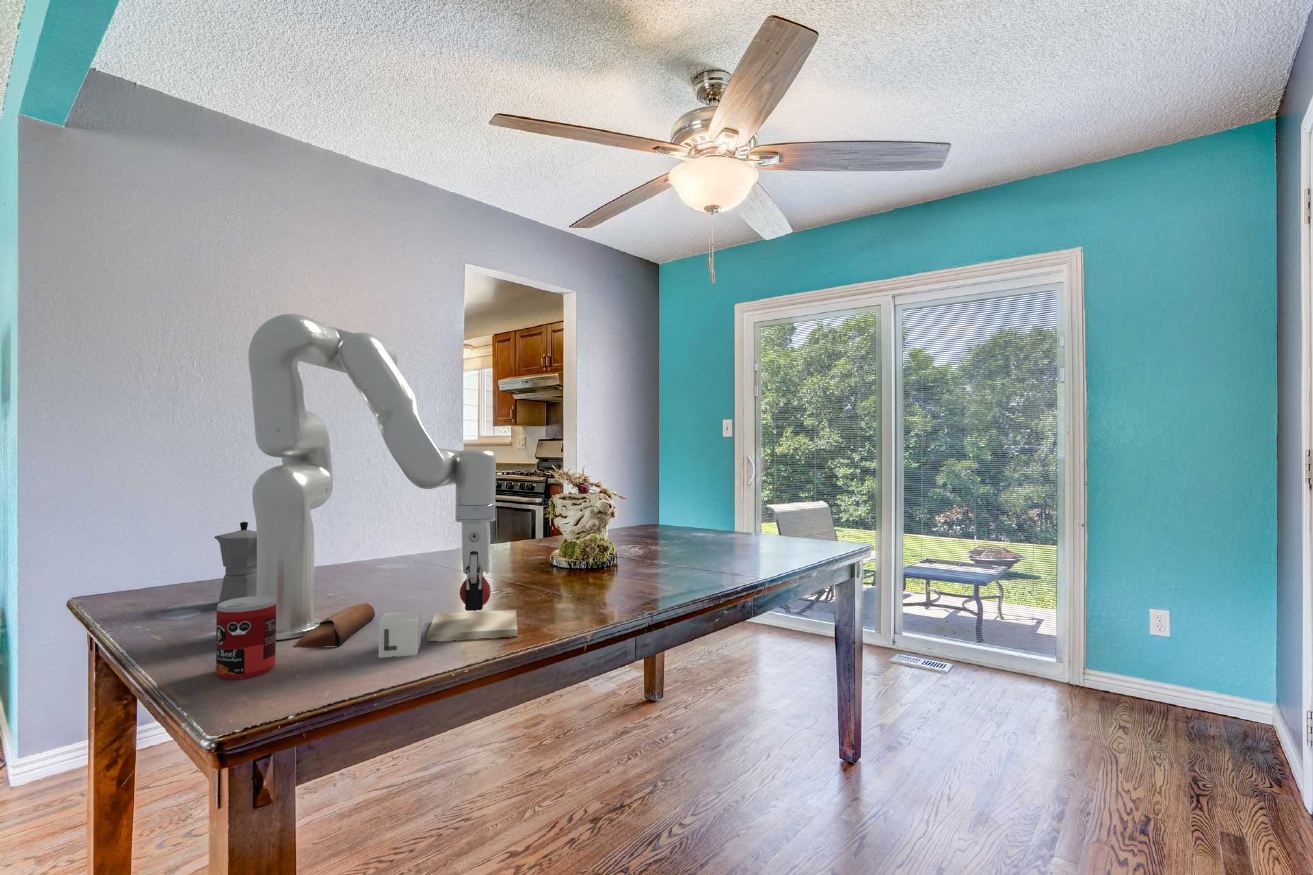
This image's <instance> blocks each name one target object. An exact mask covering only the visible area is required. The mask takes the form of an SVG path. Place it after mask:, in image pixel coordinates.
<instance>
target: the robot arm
mask: <svg viewBox="0 0 1313 875" xmlns="http://www.w3.org/2000/svg"><path fill="white" fill-rule="evenodd" d="M247 358H248V369H249V375H250V383H251V399H252V412H253V422H254V433H255V434H254V436H255V441H256V444H257V447H258V449H259V450H260V451H261V452H262V453H263V454H264V455H267V456H268V457H273V458H278V459H279V458H281V465H277V466H273V467H270V468H268V469H266V470H265V471H263V472H262V474H261V473H260V475H259V476H258V478H257V479H256V480H255V483H254V484H253V488H252V497H251V498H252V500H251V501H252V506H253V511H254V516H255V527H256V531H257V592H256V596H268V597H273V598H275V599H276V641H279V640H288V639H289V640H290V639H294V638H301V637H304V636H305V635H306V634H307V633H309V632H310V631H311V630H313V629H314V628H316V627H317V626H319V624H320V622H321V621H323V620H322V619H321V618H318V617H315V616H314V607H315V606H314V602H315V601H314V600H315V599H314V598H315V595H314V594H315V589H314V588H315V530H314V523H313V519H312V515H311V511H312V510H314V509H317V508H319V507H321V506H323V505H324V504H325V503H327V501H328V500H329V499H330V497H331V495H332V492H333V487H334V475H333V464H332V463H333V462H332V453H331V443H330V435H329V430H328V428H327V426H326V425H327V424H325V422H324V421H323V419H322V418H320V416H319V415H318V414H316V413H314V412H312V411H309V410H306V407H305V399H304V385H303V381H302V377H301V375H300V372H299V369H298V363H299V362H303V363H306V364H309V365H312V366H313V365H314V366H318V367H322V368H325V369H329V370H333V371H337V372H341V373H344V374H346V375H347V376H348V377H349V379H350V380H351V382H352V384H353V385H354V387H355V388H356V390H357V392H358V393H359V394H360V396H361V397H362V399H363V400H364V402H365V403H366V406H368V408H369V410H370V411H371V413H372V414H373V416H374V418H375V420H376V424H377V428H378V429H379V431H380V434H381V437H382V438H383V442H384V444H385V445H386V448H387V450H389V453H390V454H391V456H392V458H393V459H394V461H395V462H396V463H397V464H398V467H399V468H400V469H401V471H402V473H403V474H404V476H405V477H406V478H407V479H408V480H409V481H410V482H411V483H412V484H413V485H414V486H416V487H417V488H420V489H424V490H432V489H436V488H440V487H441V488H442V487H445V486H452V485H455V515H454V516H455V522H457V523H461V558H462V559H461V561H462V571H463V572H462V573H463V574H464V575H466V579H467V585H466V589H465V604H464V605H465V606H464V609H465V612H475V611H474V610H477V611H483V609H484V605H483V588H482V576H483V577H484V573H485V575H486V574H487V575H488V574H489V573H490V570H491V523H490V522H495V521H496V499H497V498H496V489H497V488H496V483H497V482H496V480H497V478H496V476H497V474H496V473H497V459H496V455H495V452H494V451H492V450H488V449H463V450H455V449H450V448H449V449H447V448H440V447H439V448H437V446H436V445H435V443H434V442H433V440H432V439H431V437H430V435H429V434H428V432H427V431H426V429H425V427H424V425H423V424H422V422H421V420H420V416H419V413H418V398H417V395H416V393H415V392H414V390H413V389H412V387H411V386H410V384H409V382H408V381H407V379H406V378H405V376H404V375H403V373H402V372H401V370H400V369H399V367H398V356H397V353H396V350H395V349H394V347H393V346H392V345H391V344H390V343H389V342H388V341H386V340H384V339H383V338H380V337H378V336H376V335H373V334H371V333H369V332H355V333H354V332H351V331H347V330H343V329H341V328H338V327H334V326H330V325H329V324H328V325H327V324H324V323H322V322H321V321H318V320H317V319H316V320H315V319H313V318H311V317H309V316H305V315H303V314H298V313H284V314H280V315H276V316H274V317H272V318H269V319H268V320H266V321H265V322H264V323H262V324H261V325H260V326H259V327H258V329H257V330H256V331H255V332H254V334H253V336H252V338H251V340H250V343H249V348H248V357H247ZM477 576H479V578H478V577H477Z"/></svg>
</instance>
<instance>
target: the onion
mask: <svg viewBox="0 0 1313 875" xmlns="http://www.w3.org/2000/svg"><path fill="white" fill-rule="evenodd" d="M477 577H478V578H479V576H477ZM462 582H463V583H461V586H460V589H459V598H460V600H461V601H462V602H463V604H464V605H465V589H466V585H467V578H466V579H465V580H464V581H462ZM482 588H483V606H485V605H486V604H487V603H488V602H489V599H490V597H491V594H492V591H491V590H492V589H491V586H490V583H489V582H488V581H487V579H486V578H485V576H484V575H483V576H482ZM473 612H478V610H474V611H473Z"/></svg>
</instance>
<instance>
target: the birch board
mask: <svg viewBox="0 0 1313 875" xmlns="http://www.w3.org/2000/svg"><path fill="white" fill-rule="evenodd" d="M498 636H517V637H518V618H517V609H508V610H507V609H506V610H486V611H483V610H480V611H463V612H462V611H461V612H443V613H434V617H433V619H432V621H431V623H430V626H429V628H428V631H427V633H426V642H427V641H438V642H451V641H452V642H453V640H456V641H464V640H463V639H473V640H480V639H479V638H489V637H498Z"/></svg>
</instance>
